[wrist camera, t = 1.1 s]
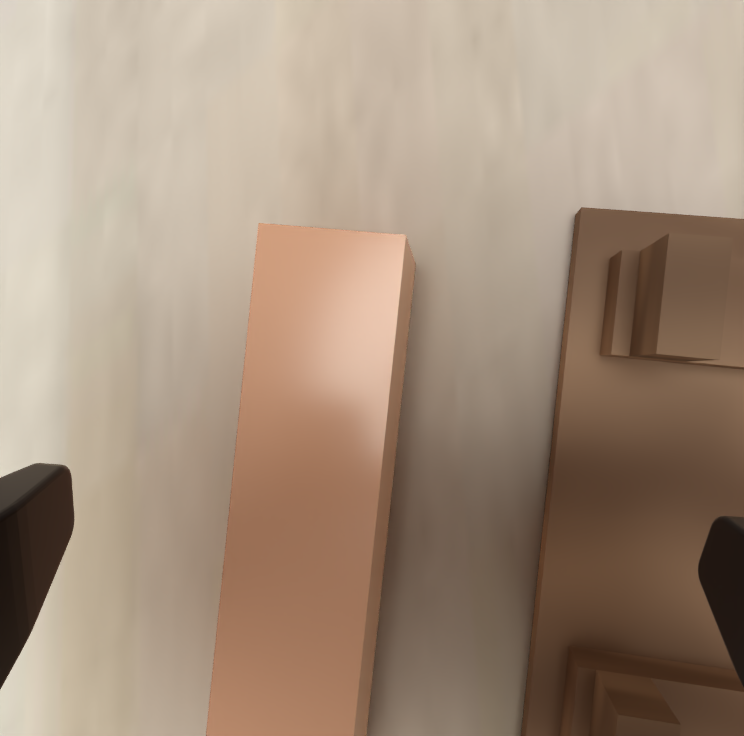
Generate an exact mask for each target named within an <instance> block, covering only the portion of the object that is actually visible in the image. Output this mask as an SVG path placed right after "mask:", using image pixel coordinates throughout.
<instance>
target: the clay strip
mask: <svg viewBox="0 0 744 736" xmlns="http://www.w3.org/2000/svg"><path fill="white" fill-rule="evenodd" d="M415 267H416V263H415V260H414V257H413V254H412V251H411V248H410V245H409V242H408V239H407V236H406V235H400V234H387V233H375V232H363V231H350V230H338V229H325V228H313V227H301V226H288V225H276V224H263V223H259V225H258V235H257V244H256V254H255V264H254V274H253V283H252V293H251V303H250V313H249V322H248V332H247V342H246V351H245V361H244V371H243V381H242V390H241V400H240V410H239V420H238V429H237V439H236V449H235V458H234V468H233V478H232V488H231V497H230V507H229V517H228V527H227V536H226V546H225V556H224V565H223V575H222V585H221V595H220V604H219V614H218V624H217V634H216V643H215V653H214V663H213V672H212V682H211V692H210V702H209V711H208V721H207V731H206V736H366V735H367V725H368V716H369V706H370V697H371V687H372V677H373V668H374V658H375V649H376V639H377V630H378V620H379V611H380V601H381V592H382V582H383V572H384V563H385V553H386V544H387V534H388V525H389V515H390V506H391V496H392V487H393V477H394V467H395V458H396V448H397V439H398V429H399V420H400V410H401V401H402V391H403V382H404V372H405V362H406V353H407V343H408V334H409V324H410V315H411V305H412V296H413V286H414V277H415Z"/></svg>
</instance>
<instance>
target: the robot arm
mask: <svg viewBox="0 0 744 736" xmlns="http://www.w3.org/2000/svg"><path fill="white" fill-rule="evenodd" d="M73 527H74V506H73V491H72V478H71V473H70V470H69V469H68V468H67V467H66V466H64V465H58V464H45V463H36V464H33V465H30V466H28V467H25V468H23V469H20V470H18V471H16V472H13V473H11V474H8V475H6V476H4V477H1V478H0V689H1V687H2V685H3V684H4V682H5V680H6V678H7V676H8V675H9V673H10V671H11V669H12V667H13V665H14V664H15V662H16V660H17V658H18V656H19V655H20V653H21V651H22V649H23V647H24V645H25V643H26V641H27V639H28V637H29V636H30V633H31V631H32V629H33V627H34V624H35V622H36V620H37V618H38V615H39V613H40V610H41V608H42V606H43V603H44V601H45V598H46V596H47V593H48V591H49V589H50V586H51V584H52V581H53V579H54V577H55V574H56V572H57V569H58V567H59V564H60V562H61V560H62V557H63V555H64V552H65V550H66V547H67V545H68V543H69V540H70V538H71V535H72V531H73ZM698 576H699V580H700V583H701V586H702V588H703V591H704V593H705V596H706V598H707V601H708V603H709V606H710V609H711V611H712V614H713V616H714V619H715V621H716V624H717V626H718V629H719V631H720V634H721V636H722V639H723V641H724V644H725V646H726V649H727V651H728V654H729V656H730V659H731V661H732V664H733V666H734V668H735V671H736V673H737V675H738V677H739V680H740V682H741V684H742V686H743V688H744V517H736V516H720V517H718V518H716V519H715V520H714V521H713V523H712V525H711V528H710V531H709V534H708V536H707V539H706V542H705V545H704V548H703V551H702V554H701V557H700V560H699V563H698Z"/></svg>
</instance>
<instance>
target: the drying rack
mask: <svg viewBox="0 0 744 736" xmlns="http://www.w3.org/2000/svg"><path fill="white" fill-rule="evenodd" d="M720 516H736V517H744V219H735V218H721V217H707V216H693V215H680V214H666V213H652V212H638V211H624V210H610V209H596V208H582V207H581V209H580V210H579V211H578V213H577V214H576V215H575V225H574V234H573V244H572V253H571V263H570V272H569V282H568V291H567V301H566V310H565V320H564V330H563V339H562V349H561V358H560V368H559V377H558V387H557V396H556V406H555V415H554V425H553V434H552V444H551V453H550V463H549V473H548V482H547V492H546V501H545V511H544V520H543V530H542V539H541V549H540V558H539V568H538V577H537V587H536V596H535V606H534V616H533V625H532V635H531V644H530V654H529V663H528V673H527V682H526V692H525V701H524V711H523V720H522V730H521V736H744V688H743V686H742V684H741V682H740V680H739V677H738V675H737V673H736V671H735V668H734V666H733V664H732V661H731V659H730V656H729V654H728V651H727V649H726V646H725V644H724V641H723V639H722V636H721V634H720V631H719V629H718V626H717V624H716V621H715V619H714V616H713V614H712V611H711V609H710V606H709V603H708V601H707V598H706V596H705V593H704V591H703V588H702V586H701V583H700V580H699V576H698V563H699V560H700V557H701V554H702V551H703V548H704V545H705V542H706V539H707V536H708V534H709V531H710V528H711V525H712V523H713V521H714V520H715V519H716V518H718V517H720Z"/></svg>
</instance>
